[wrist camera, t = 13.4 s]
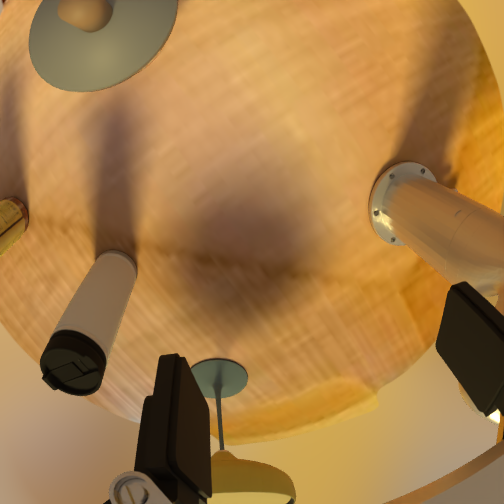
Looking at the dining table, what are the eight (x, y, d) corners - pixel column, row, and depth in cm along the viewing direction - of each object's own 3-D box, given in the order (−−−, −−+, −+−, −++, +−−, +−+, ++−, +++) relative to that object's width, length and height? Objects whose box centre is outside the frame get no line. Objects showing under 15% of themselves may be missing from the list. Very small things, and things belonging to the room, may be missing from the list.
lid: (156, -62, 17) (146, -90, 11) (198, 51, 24) (195, 35, 18) (24, 6, 17) (-5, -5, 12) (54, 119, 24) (23, 124, 19)
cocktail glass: (258, 408, 56) (279, 519, 34) (167, 404, 53) (163, 521, 31) (277, 345, 49) (316, 483, 27) (165, 338, 46) (150, 487, 23)
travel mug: (86, 261, 38) (24, 363, 21) (121, 241, 38) (66, 345, 20) (110, 295, 41) (68, 405, 23) (146, 278, 41) (113, 393, 23)
